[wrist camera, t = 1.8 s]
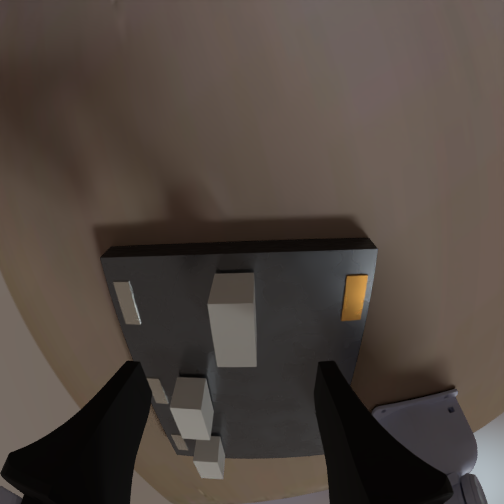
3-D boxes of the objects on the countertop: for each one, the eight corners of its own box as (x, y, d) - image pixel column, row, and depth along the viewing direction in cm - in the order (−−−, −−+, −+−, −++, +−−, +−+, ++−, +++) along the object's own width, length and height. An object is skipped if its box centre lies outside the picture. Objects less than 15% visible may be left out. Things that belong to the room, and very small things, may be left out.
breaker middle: (206, 378, 19) (200, 409, 17) (213, 411, 21) (210, 440, 18) (177, 377, 19) (169, 407, 17) (188, 410, 21) (182, 438, 18)
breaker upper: (220, 436, 23) (217, 462, 20) (225, 455, 24) (223, 479, 22) (197, 435, 23) (193, 460, 20) (204, 454, 24) (201, 477, 22)
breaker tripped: (253, 272, 16) (253, 303, 13) (256, 333, 17) (256, 366, 15) (214, 273, 16) (207, 304, 13) (222, 333, 17) (217, 367, 15)
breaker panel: (368, 237, 17) (378, 249, 15) (326, 441, 26) (328, 454, 24) (110, 246, 17) (99, 258, 16) (179, 442, 26) (176, 455, 25)
